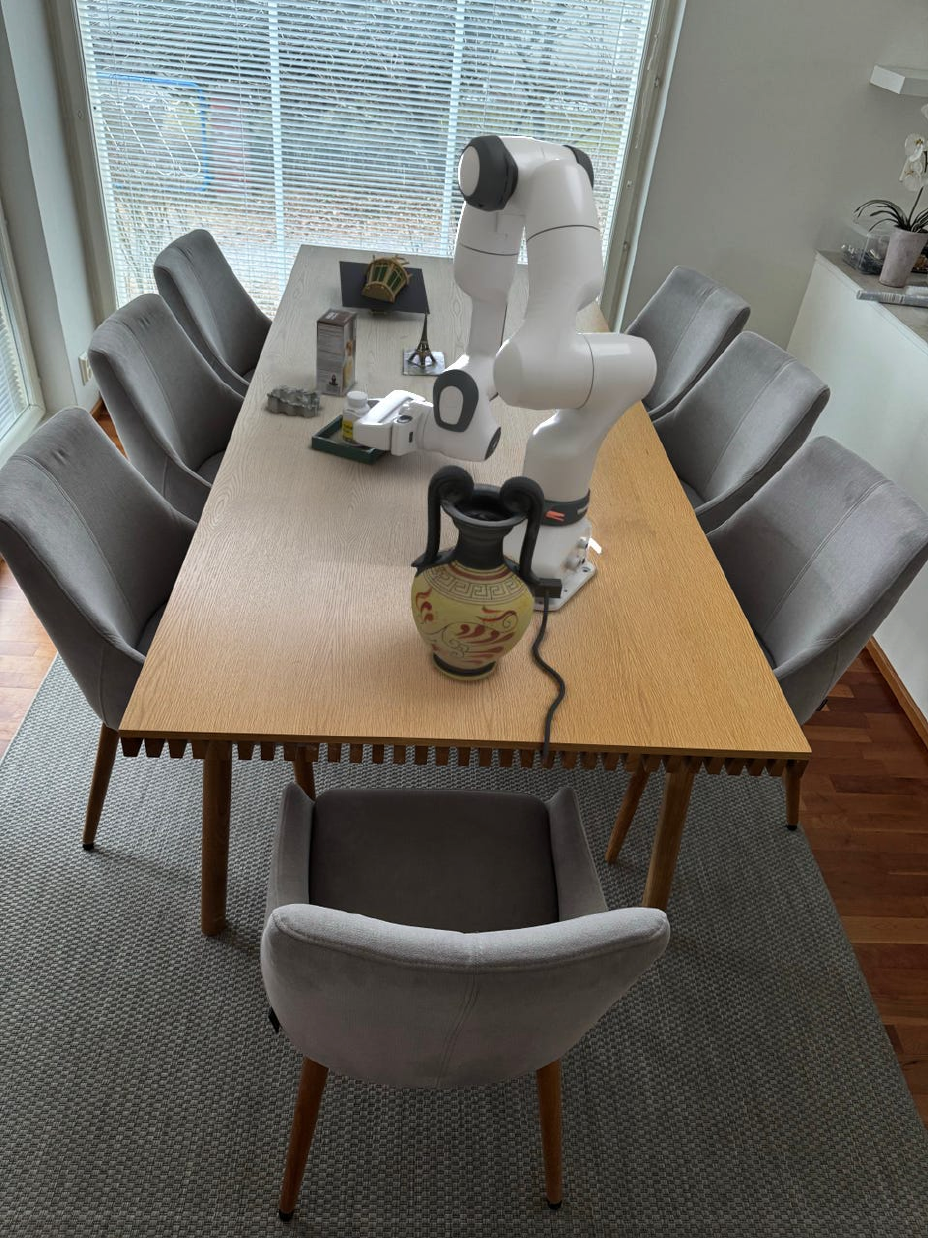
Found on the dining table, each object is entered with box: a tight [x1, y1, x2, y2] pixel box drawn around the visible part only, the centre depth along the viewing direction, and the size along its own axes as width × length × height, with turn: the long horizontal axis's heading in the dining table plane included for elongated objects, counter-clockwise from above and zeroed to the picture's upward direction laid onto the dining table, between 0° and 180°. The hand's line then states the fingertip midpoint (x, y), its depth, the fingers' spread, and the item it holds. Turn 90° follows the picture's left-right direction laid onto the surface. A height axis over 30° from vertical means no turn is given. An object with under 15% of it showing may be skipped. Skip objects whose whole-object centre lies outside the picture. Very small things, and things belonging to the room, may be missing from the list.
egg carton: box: [266, 384, 322, 418], centre depth 196 cm, size 11×8×4 cm
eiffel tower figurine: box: [403, 309, 447, 376], centre depth 222 cm, size 15×10×13 cm
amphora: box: [410, 464, 545, 682], centre depth 126 cm, size 18×17×30 cm
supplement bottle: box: [341, 390, 371, 447], centre depth 184 cm, size 5×5×10 cm
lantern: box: [338, 253, 431, 315], centre depth 255 cm, size 14×23×30 cm
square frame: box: [311, 413, 386, 465], centre depth 186 cm, size 13×13×2 cm
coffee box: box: [315, 308, 358, 397], centre depth 204 cm, size 9×6×16 cm
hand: (352, 408), depth 183 cm, fingers closed on supplement bottle, 5 cm apart
